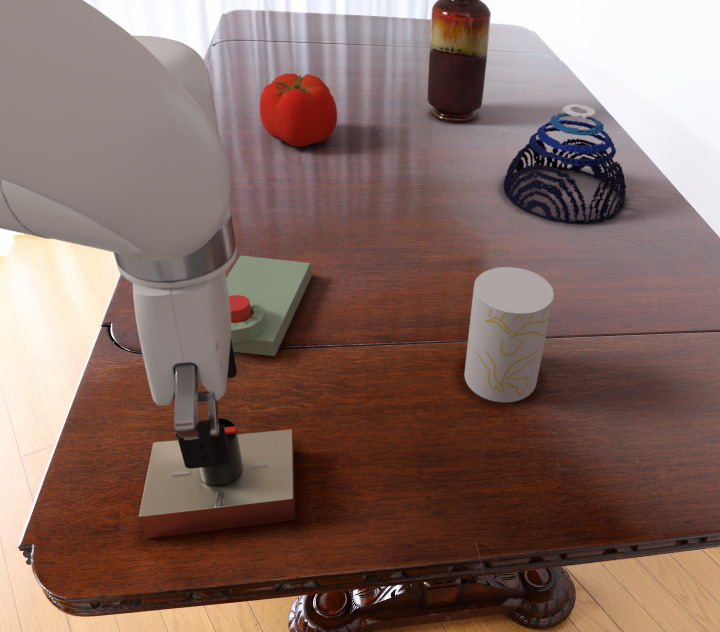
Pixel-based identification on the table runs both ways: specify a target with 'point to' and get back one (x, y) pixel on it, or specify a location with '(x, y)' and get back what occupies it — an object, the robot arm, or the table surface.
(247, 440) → the panel
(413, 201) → the table surface
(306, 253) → the table surface
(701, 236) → the table surface
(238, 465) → the hob knob
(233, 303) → the button
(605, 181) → the decorative bowl
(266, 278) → the switch box
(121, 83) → the robot arm
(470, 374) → the white patterned cylinder
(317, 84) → the tomato
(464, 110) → the vase
